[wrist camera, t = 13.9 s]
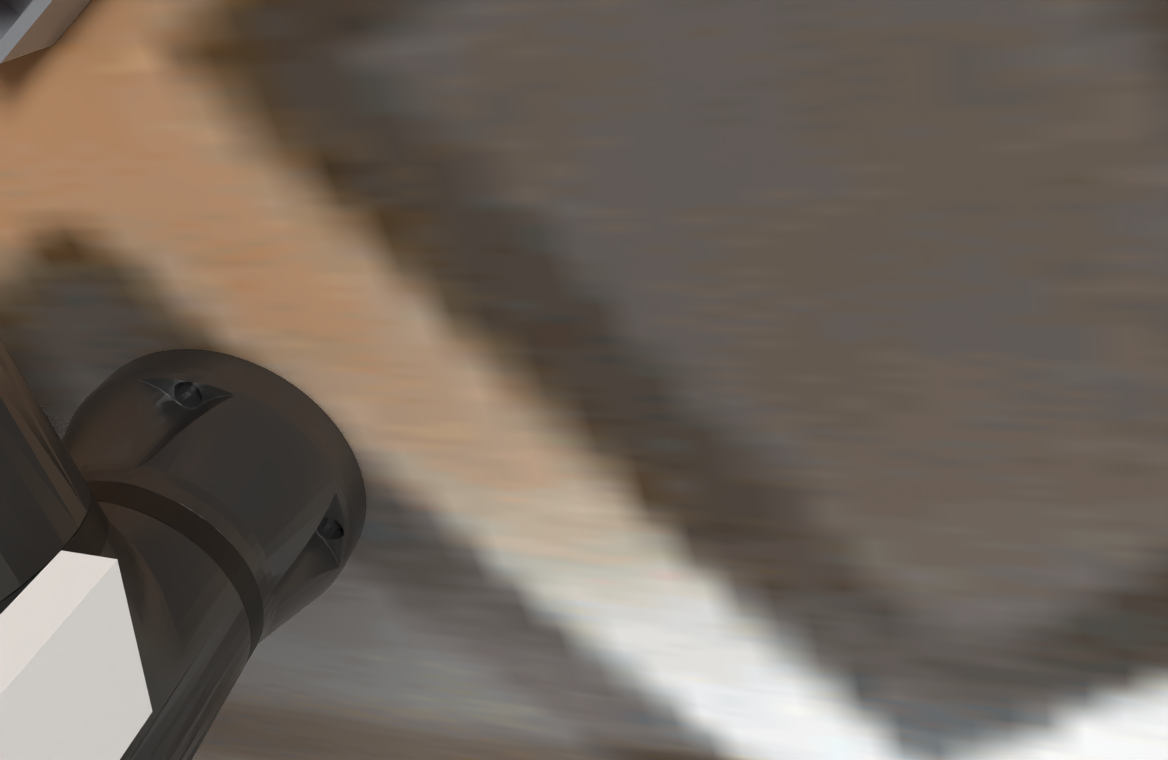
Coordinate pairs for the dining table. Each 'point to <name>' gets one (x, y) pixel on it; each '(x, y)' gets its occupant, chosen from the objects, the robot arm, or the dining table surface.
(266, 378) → the robot arm
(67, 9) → the tray
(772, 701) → the dining table surface
